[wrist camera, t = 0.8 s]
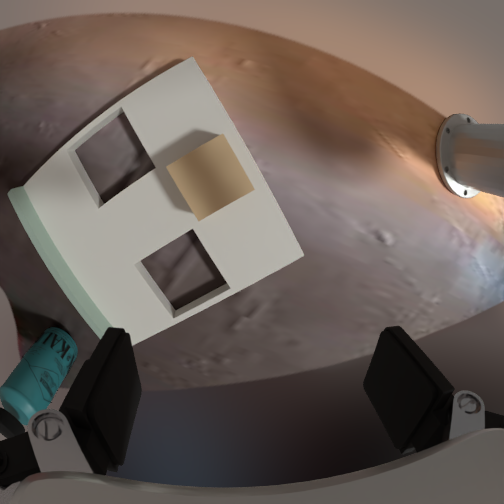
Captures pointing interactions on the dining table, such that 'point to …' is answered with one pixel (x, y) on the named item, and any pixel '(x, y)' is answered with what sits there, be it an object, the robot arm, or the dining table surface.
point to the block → (210, 177)
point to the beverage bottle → (35, 380)
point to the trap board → (150, 212)
